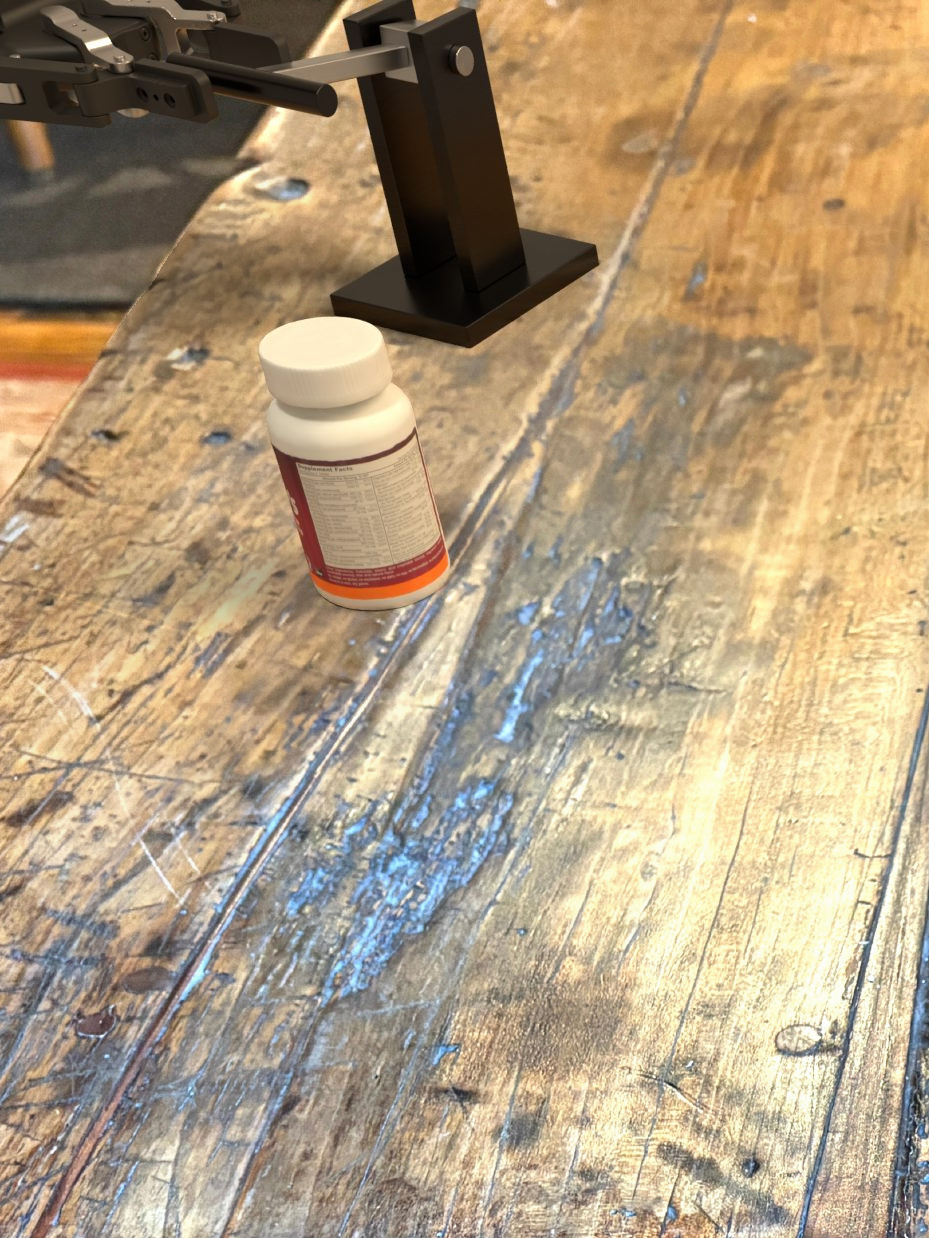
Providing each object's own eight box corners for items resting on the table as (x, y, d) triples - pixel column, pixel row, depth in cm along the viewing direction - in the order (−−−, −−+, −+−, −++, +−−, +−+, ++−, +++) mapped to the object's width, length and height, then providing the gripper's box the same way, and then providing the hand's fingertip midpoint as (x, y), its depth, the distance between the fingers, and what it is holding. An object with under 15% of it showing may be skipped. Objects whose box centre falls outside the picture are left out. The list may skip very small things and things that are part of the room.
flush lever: (321, 131, 104) (313, 74, 103) (169, 98, 107) (159, 42, 105) (509, 88, 115) (504, 36, 114) (368, 58, 117) (361, 8, 116)
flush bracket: (471, 351, 118) (407, 65, 108) (334, 318, 121) (259, 35, 110) (600, 267, 126) (552, -7, 116) (469, 237, 128) (410, -34, 118)
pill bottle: (323, 550, 104) (253, 312, 96) (458, 543, 105) (400, 306, 96) (307, 620, 100) (232, 377, 91) (448, 611, 100) (386, 370, 92)
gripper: (-177, -19, 103) (117, 42, 98) (47, -105, 112) (324, -52, 108) (-111, 149, 108) (171, 214, 104) (97, 54, 117) (363, 110, 113)
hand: (247, 78), depth 106 cm, fingers open, 5 cm apart
